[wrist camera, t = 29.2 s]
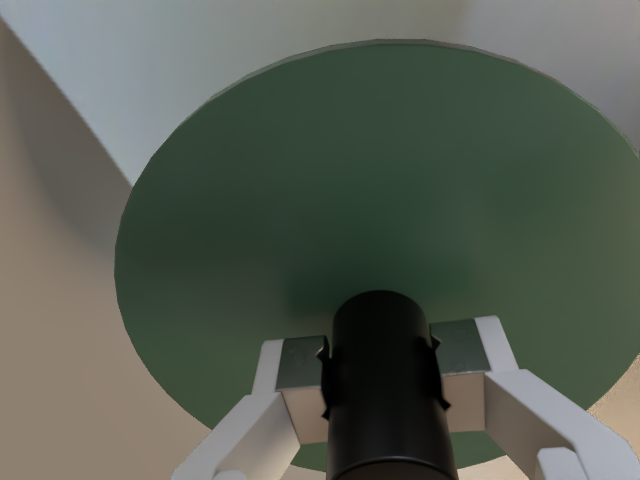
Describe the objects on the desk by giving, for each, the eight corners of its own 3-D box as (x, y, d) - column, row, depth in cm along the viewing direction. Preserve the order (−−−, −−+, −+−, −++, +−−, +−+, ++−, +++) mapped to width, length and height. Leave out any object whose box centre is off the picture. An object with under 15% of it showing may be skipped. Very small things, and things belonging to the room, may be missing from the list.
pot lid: (36, 99, 11) (-221, 231, 6) (697, -36, 9) (1134, -7, 4) (220, 458, 18) (172, 650, 13) (608, 429, 16) (722, 645, 11)
